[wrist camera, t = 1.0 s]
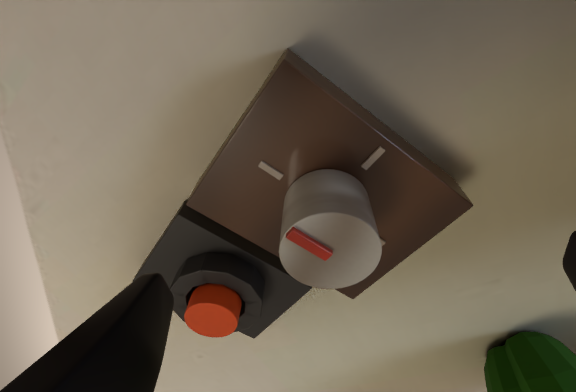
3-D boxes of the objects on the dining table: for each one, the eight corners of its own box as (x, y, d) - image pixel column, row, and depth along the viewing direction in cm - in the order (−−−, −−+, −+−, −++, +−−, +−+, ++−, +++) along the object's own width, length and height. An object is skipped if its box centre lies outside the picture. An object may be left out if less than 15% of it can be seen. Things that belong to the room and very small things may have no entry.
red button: (251, 297, 23) (247, 318, 22) (225, 323, 25) (220, 344, 24) (206, 274, 22) (199, 295, 21) (182, 302, 24) (174, 323, 23)
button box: (312, 271, 26) (312, 308, 23) (256, 321, 30) (251, 359, 27) (185, 199, 23) (167, 231, 20) (141, 265, 27) (120, 300, 24)
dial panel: (454, 179, 21) (475, 207, 18) (348, 268, 26) (353, 301, 23) (287, 47, 17) (283, 59, 15) (199, 179, 22) (184, 206, 19)
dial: (387, 199, 19) (406, 252, 15) (331, 250, 21) (336, 307, 17) (319, 151, 17) (322, 197, 14) (267, 211, 19) (258, 264, 16)
